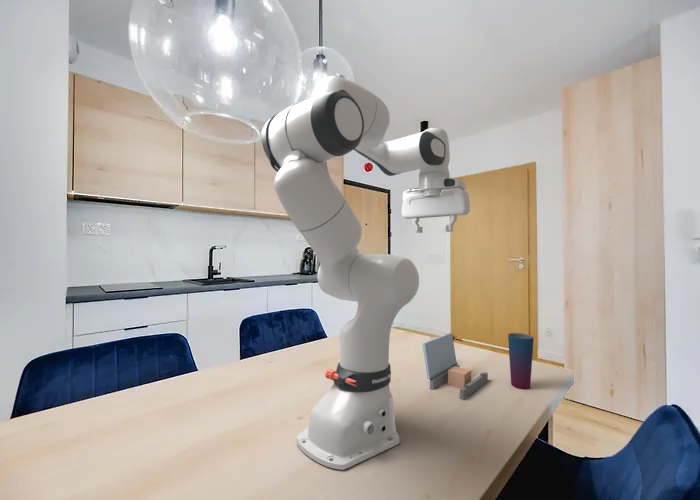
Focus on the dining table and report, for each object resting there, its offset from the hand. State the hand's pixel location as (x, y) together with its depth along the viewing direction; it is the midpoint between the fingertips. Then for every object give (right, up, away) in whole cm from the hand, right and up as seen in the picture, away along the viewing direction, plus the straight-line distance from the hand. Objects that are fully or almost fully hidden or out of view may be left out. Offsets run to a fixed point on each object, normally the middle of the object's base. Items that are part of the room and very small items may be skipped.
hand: (433, 232), depth 94 cm
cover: (+4, -38, +5) cm, 39 cm away
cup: (+26, -46, +1) cm, 53 cm away
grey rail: (+8, -46, +1) cm, 47 cm away
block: (+8, -46, +1) cm, 47 cm away
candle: (+5, -46, +18) cm, 50 cm away
